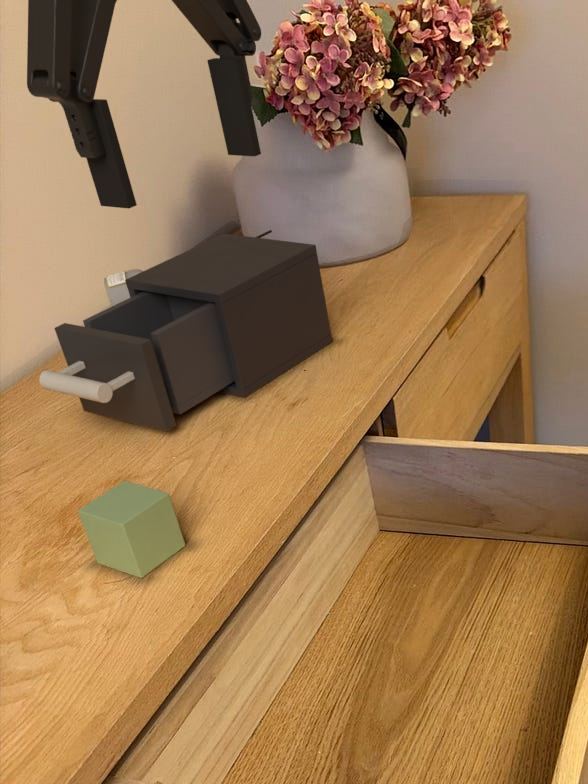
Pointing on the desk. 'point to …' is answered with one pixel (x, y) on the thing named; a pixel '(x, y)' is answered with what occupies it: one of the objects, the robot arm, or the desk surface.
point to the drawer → (144, 359)
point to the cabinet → (251, 301)
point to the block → (132, 528)
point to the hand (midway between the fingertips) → (185, 179)
